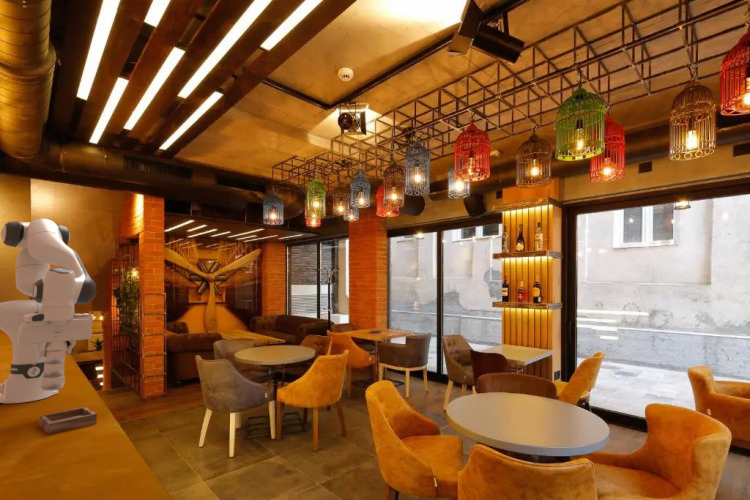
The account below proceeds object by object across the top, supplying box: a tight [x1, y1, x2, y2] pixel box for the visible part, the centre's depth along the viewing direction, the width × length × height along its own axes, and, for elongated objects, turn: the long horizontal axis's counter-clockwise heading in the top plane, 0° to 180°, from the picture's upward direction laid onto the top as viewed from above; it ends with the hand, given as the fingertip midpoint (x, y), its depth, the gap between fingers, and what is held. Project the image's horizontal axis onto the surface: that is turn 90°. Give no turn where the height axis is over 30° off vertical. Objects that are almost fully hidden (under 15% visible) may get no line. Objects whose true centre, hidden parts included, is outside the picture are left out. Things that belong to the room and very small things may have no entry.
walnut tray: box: [39, 406, 98, 435], centre depth 125 cm, size 12×12×3 cm
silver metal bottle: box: [41, 332, 68, 391], centre depth 134 cm, size 6×7×20 cm
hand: (54, 355), depth 134 cm, fingers closed on silver metal bottle, 6 cm apart
